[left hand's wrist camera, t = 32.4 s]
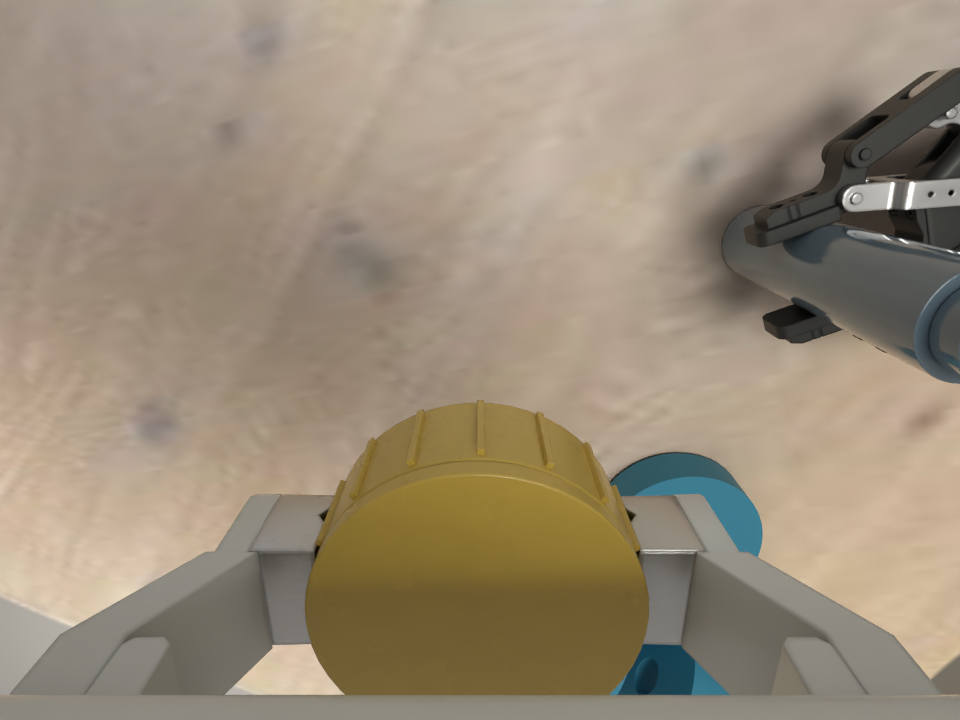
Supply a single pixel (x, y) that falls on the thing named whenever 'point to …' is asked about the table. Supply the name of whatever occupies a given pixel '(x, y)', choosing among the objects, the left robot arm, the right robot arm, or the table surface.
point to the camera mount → (699, 475)
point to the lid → (477, 563)
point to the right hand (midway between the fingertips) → (762, 284)
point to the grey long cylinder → (864, 287)
